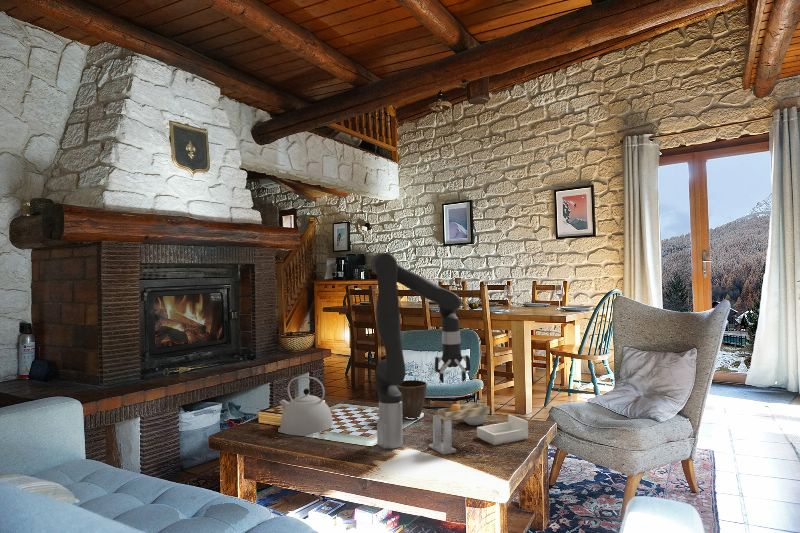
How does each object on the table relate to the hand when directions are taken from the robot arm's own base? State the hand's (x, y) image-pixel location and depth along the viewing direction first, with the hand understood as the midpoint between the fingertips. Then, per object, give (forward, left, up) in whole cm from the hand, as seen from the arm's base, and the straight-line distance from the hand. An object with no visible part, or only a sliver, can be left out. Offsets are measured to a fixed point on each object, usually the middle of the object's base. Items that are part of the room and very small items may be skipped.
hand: (452, 381), depth 212 cm
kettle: (-49, +45, -23) cm, 70 cm away
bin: (+18, -9, -23) cm, 30 cm away
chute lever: (-1, -5, -11) cm, 12 cm away
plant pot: (-1, +35, -23) cm, 42 cm away
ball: (-5, -9, -8) cm, 13 cm away
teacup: (+20, +15, -23) cm, 34 cm away
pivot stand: (-11, -9, -23) cm, 27 cm away
